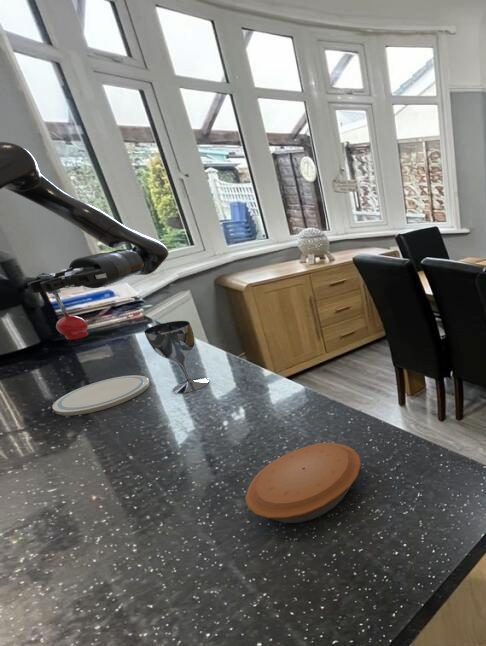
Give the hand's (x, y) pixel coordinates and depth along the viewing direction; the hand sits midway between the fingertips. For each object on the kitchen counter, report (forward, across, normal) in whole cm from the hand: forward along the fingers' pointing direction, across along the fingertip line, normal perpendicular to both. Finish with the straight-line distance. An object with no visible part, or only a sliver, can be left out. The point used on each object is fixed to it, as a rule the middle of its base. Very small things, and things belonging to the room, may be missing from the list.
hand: (37, 287), depth 83 cm
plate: (+4, +6, +25) cm, 26 cm away
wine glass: (+3, +23, +25) cm, 34 cm away
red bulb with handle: (-3, 0, +12) cm, 13 cm away
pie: (+45, +63, +25) cm, 81 cm away
